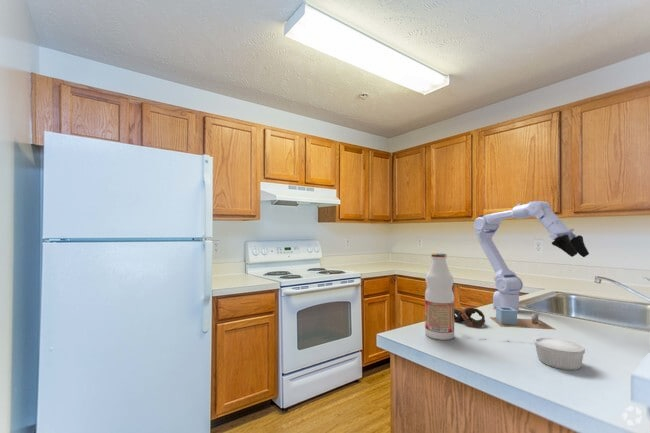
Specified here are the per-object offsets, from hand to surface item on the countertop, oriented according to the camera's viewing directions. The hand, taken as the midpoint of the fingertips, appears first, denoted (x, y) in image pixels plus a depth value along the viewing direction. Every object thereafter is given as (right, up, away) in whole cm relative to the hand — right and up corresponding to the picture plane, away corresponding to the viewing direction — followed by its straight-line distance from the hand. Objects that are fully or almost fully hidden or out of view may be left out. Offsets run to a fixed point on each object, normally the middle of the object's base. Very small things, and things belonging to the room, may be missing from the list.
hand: (580, 255), depth 113 cm
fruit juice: (-52, -27, -4) cm, 58 cm away
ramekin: (-26, -27, -26) cm, 45 cm away
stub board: (-18, -27, +6) cm, 33 cm away
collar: (-22, -26, +7) cm, 35 cm away
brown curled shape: (-37, -28, +6) cm, 47 cm away
